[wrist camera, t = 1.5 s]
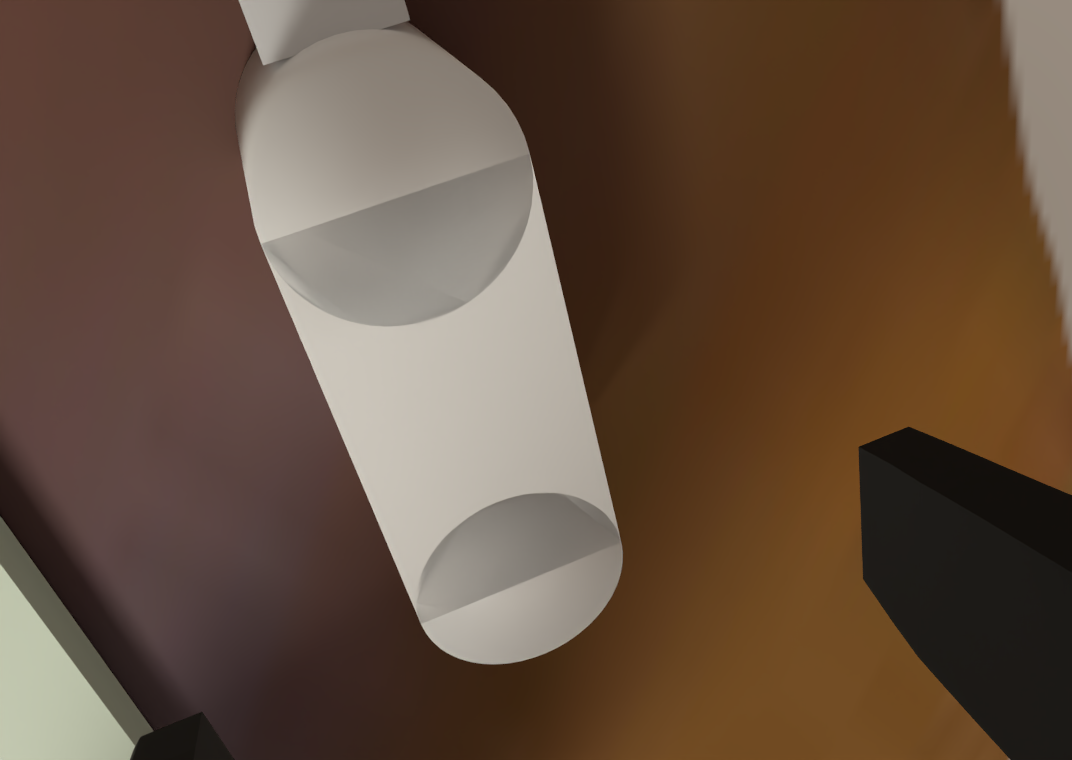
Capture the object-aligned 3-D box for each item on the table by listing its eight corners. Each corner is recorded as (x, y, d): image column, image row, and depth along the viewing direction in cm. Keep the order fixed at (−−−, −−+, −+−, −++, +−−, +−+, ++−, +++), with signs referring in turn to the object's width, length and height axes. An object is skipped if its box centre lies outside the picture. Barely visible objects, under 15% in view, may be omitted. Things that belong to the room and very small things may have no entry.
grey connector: (563, 488, 20) (638, 614, 17) (405, 551, 20) (450, 693, 17) (378, -197, 13) (443, -211, 10) (126, -128, 13) (108, -120, 10)
